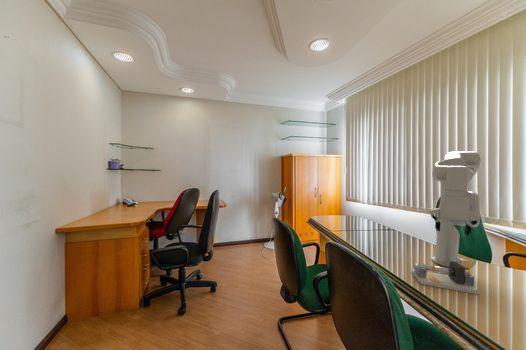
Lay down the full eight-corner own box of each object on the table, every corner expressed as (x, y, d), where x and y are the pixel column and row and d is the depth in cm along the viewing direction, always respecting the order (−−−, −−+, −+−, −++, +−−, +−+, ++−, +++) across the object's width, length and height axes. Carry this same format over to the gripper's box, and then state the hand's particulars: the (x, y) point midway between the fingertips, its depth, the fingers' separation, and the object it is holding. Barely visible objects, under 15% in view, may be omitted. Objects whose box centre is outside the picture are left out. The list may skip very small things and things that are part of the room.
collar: (454, 277, 99) (456, 261, 99) (463, 284, 93) (465, 268, 92) (448, 275, 100) (449, 260, 100) (456, 283, 93) (458, 267, 93)
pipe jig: (461, 280, 101) (462, 265, 100) (478, 294, 89) (479, 277, 89) (411, 271, 106) (412, 258, 106) (421, 283, 95) (422, 268, 95)
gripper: (479, 195, 94) (475, 234, 95) (429, 191, 103) (426, 227, 104) (485, 197, 88) (481, 239, 89) (432, 192, 97) (428, 230, 97)
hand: (452, 232), depth 96 cm, fingers open, 9 cm apart
